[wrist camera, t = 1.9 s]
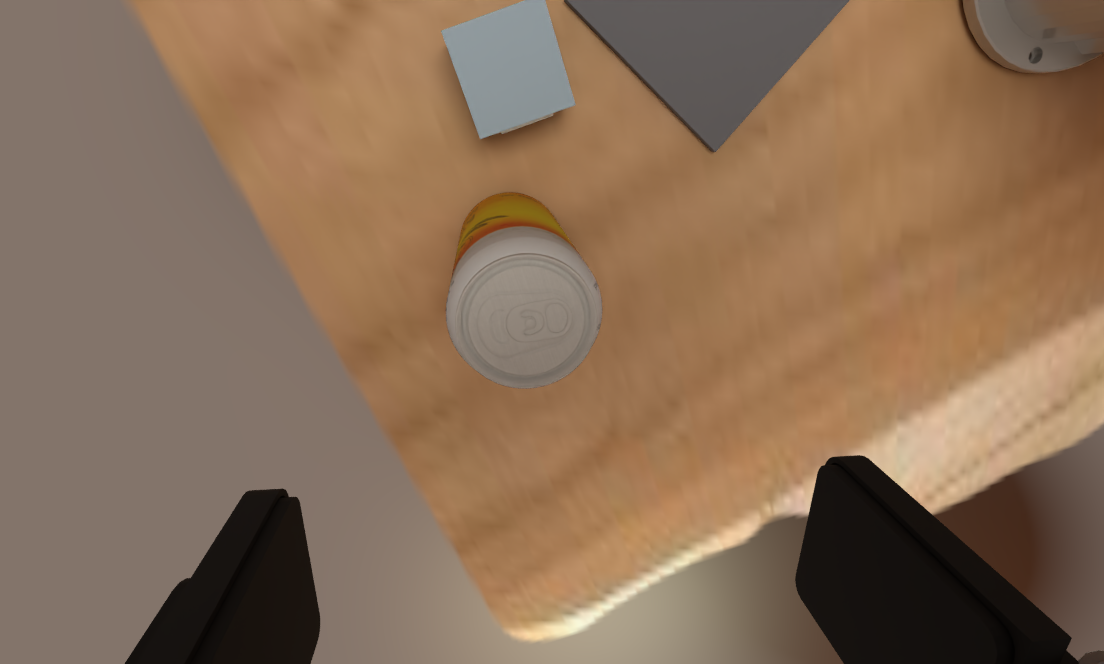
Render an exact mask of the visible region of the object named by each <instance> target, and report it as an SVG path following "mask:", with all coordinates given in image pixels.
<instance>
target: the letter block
mask: <svg viewBox="0 0 1104 664" xmlns="http://www.w3.org/2000/svg"><path fill="white" fill-rule="evenodd" d="M441 32H442V35H443V37H444V40H445V43H446V46H447V48H448V51H449V54H450V57H451V60H452V62H453V65H454V68H455V71H456V73H457V76H458V79H459V82H460V84H461V87H462V90H463V93H464V96H465V98H466V101H467V104H468V107H469V109H470V112H471V115H472V118H473V120H474V123H475V126H476V129H477V132H478V134H479V137H480V139H482V138H485V137H488V136H491V135H493V134H496V133H499V132H501V134H504V133H507V132H509V131H512V130H515V129H518V128H521V127H523V126H526V125H529V124H532V123H534V122H537V121H540V120H543V119H546V118H548V117H551V116H553V113H555V112H557V111H560V110H563V109H566V108H569V107H571V106H574V105H575V101H574V98H573V94H572V91H571V88H570V84H569V81H568V77H567V74H566V70H565V67H564V64H563V60H562V57H561V53H560V50H559V46H558V43H557V40H556V36H555V33H554V29H553V26H552V22H551V19H550V16H549V12H548V9H547V5H546V2H545V0H525V1H522V2H519V3H516V4H514V5H511V6H508V7H505V8H503V9H500V10H497V11H494V12H492V13H489V14H486V15H483V16H481V17H478V18H475V19H472V20H470V21H467V22H464V23H461V24H459V25H456V26H453V27H450V28H448V29H445V30H442V31H441Z"/></svg>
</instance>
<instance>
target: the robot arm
mask: <svg viewBox="0 0 1104 664" xmlns="http://www.w3.org/2000/svg"><path fill="white" fill-rule="evenodd" d="M963 8H964V12H965V15H966V19H967V22H968V26H969V29H970V31H971V32H972V34H973V36H974V38H975V40H976V42H977V44H978V45H979V46H980V47H981V49H982V50H983V51H984V52H985V53H986V54H987V55H988V56H989V57H990V58H991V59H992V60H994V61H995V62H997V63H999V64H1000V65H1002V66H1003V67H1005V68H1008V69H1011V70H1015V71H1018V72H1023V73H1047V72H1058V71H1063V70H1066V69H1070V68H1074V67H1078V66H1080V65H1082V64H1084V63H1086V62H1088V61H1091V60H1093V59H1095V58H1097V57H1098V56H1100V55H1101V54H1103V53H1104V0H963ZM795 581H796V587H797V591H798V594H799V596H800V598H801V600H802V601H803V603H804V604H805V606H806V607H807V608H808V610H809V611H810V613H811V614H812V616H813V618H814V619H815V621H816V622H817V624H818V625H819V627H820V628H821V630H822V631H823V633H824V634H825V636H826V637H827V638H828V640H829V642H830V643H831V645H832V646H833V648H834V649H835V651H836V652H837V654H838V655H839V657H840V658H841V660H842V661H843V663H844V664H1104V651H1094V652H1089V653H1085V654H1084V655H1083V656H1082V657H1081V659H1079V660H1078V661H1077V660H1076V659H1075V658H1074V657H1073V656H1072V655H1071V654H1070V653H1068V652H1067V651H1066V649H1067V647H1068V645H1069V643H1070V641H1071V637H1070V636H1069V635H1068V634H1067V633H1066V632H1065V631H1063V630H1062V629H1061V628H1060V627H1059V626H1058V625H1057V624H1055V623H1054V622H1053V621H1052V620H1051V619H1050V618H1049V617H1047V616H1046V615H1045V614H1044V613H1043V612H1042V611H1041V610H1039V609H1038V608H1037V607H1036V606H1035V605H1034V604H1033V603H1032V602H1031V601H1029V600H1028V599H1027V598H1026V597H1025V596H1024V595H1023V594H1021V593H1020V592H1019V591H1018V590H1017V589H1016V588H1015V587H1013V586H1012V585H1011V584H1010V583H1009V582H1008V581H1007V580H1006V579H1004V578H1003V577H1002V576H1001V575H1000V574H999V573H998V572H996V571H995V570H994V569H993V568H992V567H991V566H990V565H989V564H987V563H986V562H985V561H984V560H983V559H982V558H981V557H979V556H978V555H977V554H976V553H975V552H974V551H973V550H972V549H970V548H969V547H968V546H967V545H966V544H965V543H963V542H962V541H961V540H960V539H959V538H958V537H957V536H956V535H954V534H953V533H952V532H951V531H950V530H949V529H948V528H947V527H945V526H944V525H943V524H942V523H941V522H940V521H939V520H937V519H936V518H935V517H934V516H933V515H932V514H931V513H930V512H928V511H927V510H926V509H925V508H924V507H923V506H922V505H920V504H919V503H918V502H917V501H916V500H915V499H914V498H912V497H911V496H910V495H909V494H908V493H907V492H906V491H905V490H903V489H902V488H901V487H900V486H899V485H898V484H897V483H895V482H894V481H893V480H892V479H891V478H890V477H889V476H888V475H886V474H885V473H884V472H883V471H882V470H881V469H880V468H878V467H877V466H876V465H875V464H874V463H873V462H872V461H870V460H869V459H868V458H866V457H865V456H860V455H857V456H840V457H832V458H829V459H828V461H827V462H826V464H825V465H824V466H821V467H820V469H819V471H818V474H817V479H816V484H815V488H814V493H813V498H812V502H811V507H810V511H809V516H808V521H807V526H806V530H805V535H804V540H803V544H802V549H801V553H800V558H799V563H798V567H797V572H796V579H795ZM319 632H320V613H319V608H318V602H317V597H316V591H315V585H314V580H313V574H312V568H311V563H310V557H309V552H308V546H307V540H306V535H305V529H304V524H303V518H302V512H301V507H300V502H299V500H298V498H297V497H289V496H288V493H287V491H286V490H284V489H270V490H252V491H247V492H246V493H245V494H244V495H243V496H242V498H241V500H240V501H239V503H238V504H237V506H236V507H235V509H234V511H233V512H232V514H231V516H230V517H229V519H228V520H227V522H226V523H225V525H224V526H223V528H222V530H221V531H220V533H219V534H218V536H217V537H216V539H215V541H214V542H213V544H212V545H211V547H210V549H209V550H208V552H207V553H206V555H205V556H204V558H203V560H202V561H201V563H200V564H199V566H198V568H197V569H196V571H195V572H194V574H193V575H192V577H191V578H187V579H185V580H183V581H181V582H180V583H179V584H178V585H177V586H176V587H175V588H174V590H173V591H172V592H171V594H170V595H169V597H168V599H167V600H166V601H165V603H164V604H163V606H162V607H161V609H160V611H159V612H158V614H157V615H156V617H155V618H154V620H153V621H152V623H151V624H150V626H149V627H148V629H147V630H146V632H145V633H144V635H143V636H142V638H141V639H140V641H139V643H138V644H137V646H136V647H135V649H134V650H133V652H132V653H131V655H130V656H129V658H128V659H127V661H126V662H125V664H311V660H312V657H313V654H314V651H315V647H316V644H317V641H318V637H319Z"/></svg>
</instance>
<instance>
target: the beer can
mask: <svg viewBox="0 0 1104 664" xmlns="http://www.w3.org/2000/svg"><path fill="white" fill-rule="evenodd" d="M601 319H602V300H601V294H600V290H599V287H598V284H597V282H596V280H595V278H594V276H593V274H592V272H591V271H590V269H589V268H588V266H587V265H586V263H585V262H584V260H583V259H582V257H581V256H580V255H579V253H578V252H577V250H576V249H575V247H574V246H573V244H572V243H571V241H570V240H569V239H568V237H567V236H566V234H565V233H564V231H563V230H562V228H561V227H560V225H559V224H558V222H557V221H556V220H555V218H554V217H553V215H552V214H551V213H550V211H549V210H548V209H547V208H546V207H545V206H544V205H543V204H542V203H540V202H539V201H537V200H536V199H534V198H532V197H530V196H527V195H524V194H520V193H511V192H510V193H500V194H496V195H493V196H491V197H488V198H486V199H485V200H483V201H481V202H480V203H479V204H477V205H476V206H475V207H474V208H473V209H472V210H471V212H470V213H469V214H468V216H467V218H466V219H465V221H464V224H463V227H462V230H461V234H460V239H459V244H458V249H457V254H456V259H455V264H454V269H453V273H452V278H451V283H450V288H449V293H448V298H447V303H446V322H447V327H448V331H449V335H450V338H451V340H452V342H453V344H454V346H455V348H456V349H457V351H458V353H459V354H460V355H461V357H462V358H463V359H464V360H465V361H466V362H467V363H468V364H469V365H470V366H471V367H472V368H474V369H475V370H476V371H478V372H479V373H480V374H481V375H483V376H484V377H486V378H487V379H489V380H491V381H493V382H495V383H498V384H501V385H503V386H508V387H512V388H525V389H527V388H537V387H542V386H546V385H549V384H552V383H554V382H556V381H558V380H560V379H562V378H564V377H565V376H567V375H568V374H570V373H571V372H572V371H573V370H575V369H576V368H577V367H578V366H579V365H580V364H581V363H582V361H583V360H584V359H585V357H586V356H587V354H588V352H589V351H590V349H591V347H592V345H593V344H594V342H595V339H596V337H597V335H598V332H599V329H600V325H601Z"/></svg>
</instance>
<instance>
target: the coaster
mask: <svg viewBox="0 0 1104 664" xmlns="http://www.w3.org/2000/svg"><path fill="white" fill-rule="evenodd" d="M564 1H565V2H566V3H567V4H568V5H569V6H570V8H571V9H572V10H573V11H574V12H575V13H576V14H577V15H578V16H579V17H580V18H581V19H582V20H583V21H584V22H585V23H586V24H587V25H588V26H589V27H590V28H591V29H592V30H593V31H594V32H595V33H596V34H597V35H598V36H599V37H600V38H601V39H602V40H603V41H604V42H605V43H606V44H607V45H608V46H609V47H610V48H611V49H612V50H613V51H614V52H615V53H616V54H617V55H618V56H619V57H620V58H621V59H622V61H623V62H624V63H625V64H626V65H627V66H628V67H629V68H630V69H631V70H632V71H633V72H634V73H635V74H636V75H637V76H638V77H639V78H640V79H641V80H642V81H643V82H644V83H645V84H646V85H647V86H648V87H649V88H650V89H651V90H652V91H653V92H654V93H655V94H656V95H657V96H658V97H659V98H660V99H661V100H662V101H663V102H664V103H665V104H666V105H667V106H668V107H669V108H670V109H671V110H672V111H673V112H674V113H675V115H676V116H677V117H678V118H679V119H680V120H681V121H682V122H683V123H684V124H685V125H686V126H687V127H688V128H689V129H690V130H691V131H692V132H693V133H694V134H695V135H696V136H697V137H698V138H699V139H700V140H701V141H702V142H703V143H704V144H705V145H706V146H707V147H708V148H709V149H710V150H711V151H712V152H716V151H717V150H718V149H719V148H720V146H721V145H722V144H723V143H724V142H725V141H726V140H727V139H728V137H729V136H730V135H731V134H732V133H733V132H734V131H735V129H736V128H737V127H738V126H739V125H740V124H741V123H742V122H743V120H744V119H745V118H746V117H747V116H748V115H749V114H750V112H751V111H752V110H753V109H754V108H755V107H756V106H757V105H758V103H759V102H760V101H761V100H762V99H763V98H764V97H765V96H766V94H767V93H768V92H769V91H770V90H771V89H772V88H773V86H774V85H775V84H776V83H777V82H778V81H779V80H780V79H781V77H782V76H783V75H784V74H785V73H786V72H787V71H788V69H789V68H790V67H791V66H792V65H793V64H794V63H795V62H796V60H797V59H798V58H799V57H800V56H801V55H802V54H803V52H804V51H805V50H806V49H807V48H808V47H809V46H810V45H811V43H812V42H813V41H814V40H815V39H816V38H817V37H818V36H819V34H820V33H821V32H822V31H823V30H824V29H825V28H826V26H827V25H828V24H829V23H830V22H831V21H832V20H833V19H834V17H835V16H836V15H837V14H838V13H839V12H840V11H841V9H842V8H843V7H844V6H845V5H846V4H847V3H848V2H849V0H564Z"/></svg>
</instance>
